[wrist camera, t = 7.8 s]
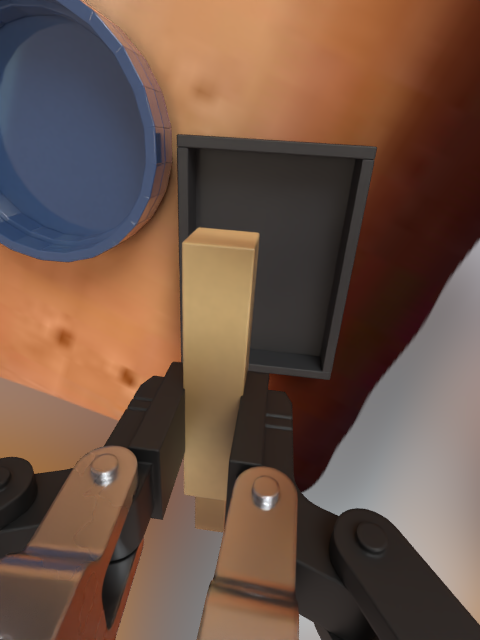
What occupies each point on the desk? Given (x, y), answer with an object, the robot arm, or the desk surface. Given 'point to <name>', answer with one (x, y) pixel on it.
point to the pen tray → (282, 235)
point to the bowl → (76, 132)
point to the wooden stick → (214, 358)
